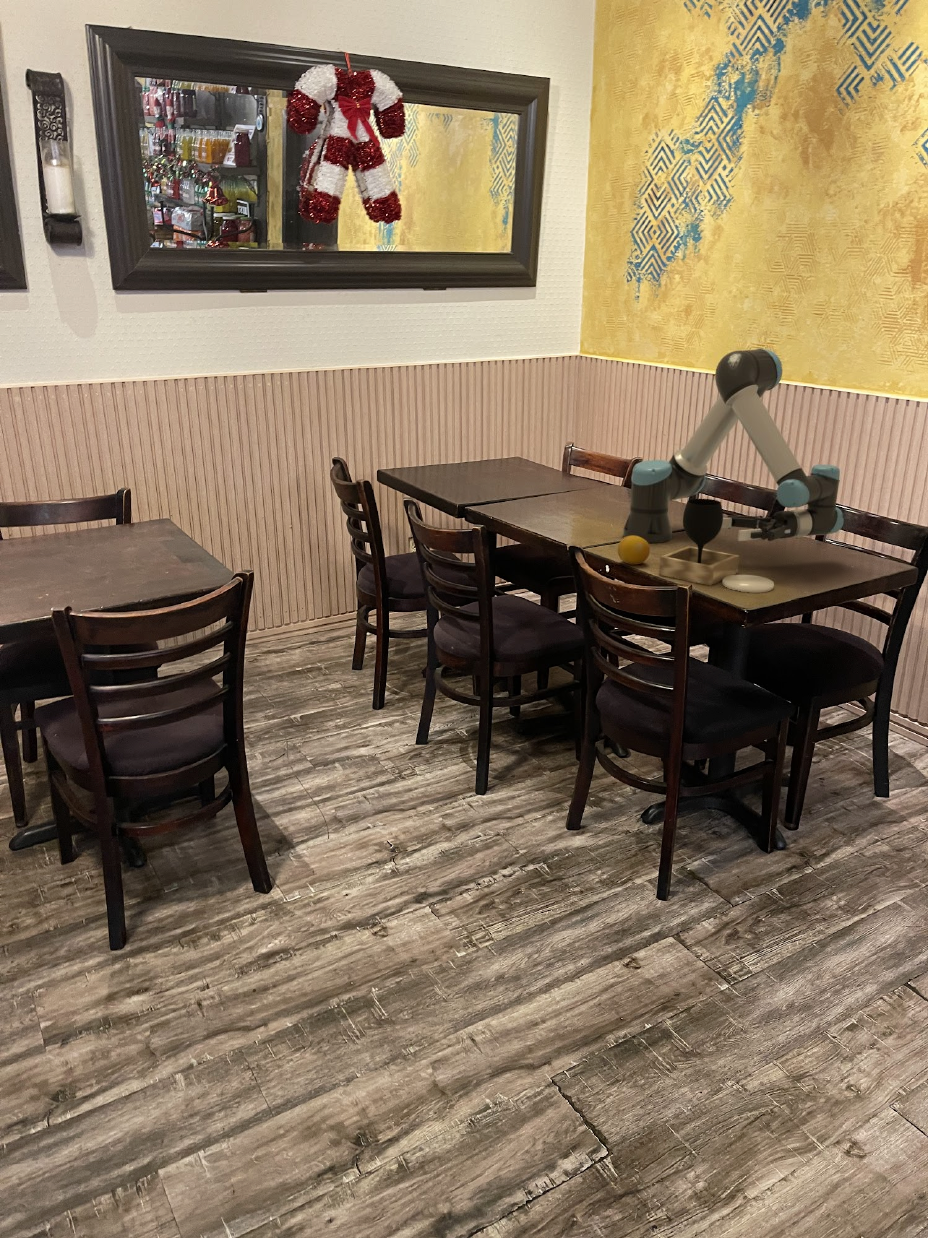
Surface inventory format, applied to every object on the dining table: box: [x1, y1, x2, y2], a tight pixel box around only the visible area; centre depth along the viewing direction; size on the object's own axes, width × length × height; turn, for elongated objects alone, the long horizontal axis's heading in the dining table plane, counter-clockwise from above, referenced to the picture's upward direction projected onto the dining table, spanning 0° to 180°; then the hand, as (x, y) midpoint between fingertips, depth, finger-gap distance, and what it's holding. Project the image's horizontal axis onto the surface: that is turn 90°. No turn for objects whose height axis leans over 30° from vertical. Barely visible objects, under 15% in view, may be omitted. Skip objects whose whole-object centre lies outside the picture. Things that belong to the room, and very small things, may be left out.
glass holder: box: [658, 545, 740, 586], centre depth 259 cm, size 15×15×5 cm
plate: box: [721, 574, 775, 594], centre depth 249 cm, size 13×13×1 cm
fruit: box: [617, 536, 651, 565], centre depth 268 cm, size 9×8×8 cm
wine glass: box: [682, 498, 724, 564], centre depth 256 cm, size 10×10×20 cm
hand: (724, 529), depth 257 cm, fingers open, 13 cm apart
